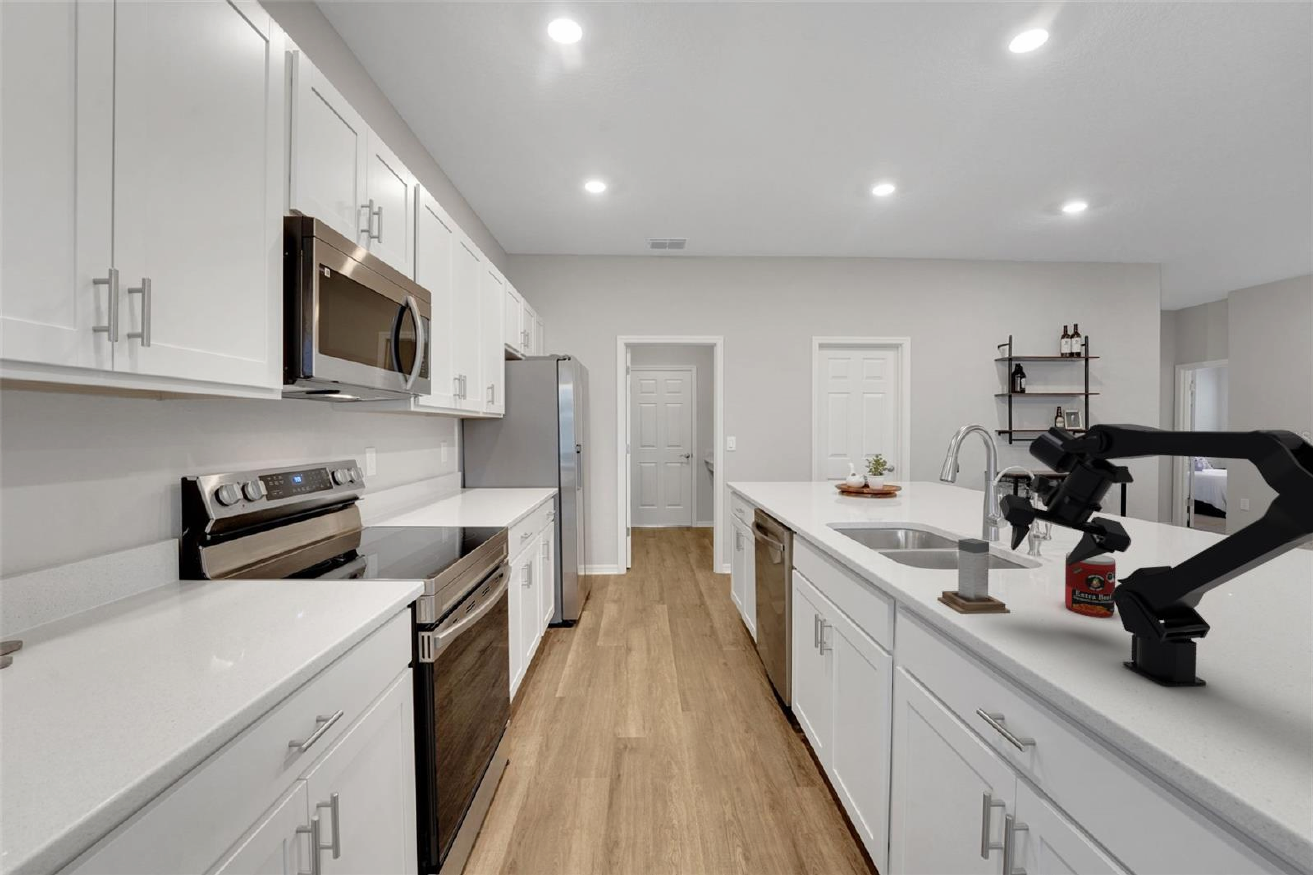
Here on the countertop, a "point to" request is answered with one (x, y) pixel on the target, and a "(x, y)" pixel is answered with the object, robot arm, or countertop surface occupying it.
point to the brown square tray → (972, 604)
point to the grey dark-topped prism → (973, 570)
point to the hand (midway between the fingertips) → (1039, 556)
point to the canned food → (1091, 586)
